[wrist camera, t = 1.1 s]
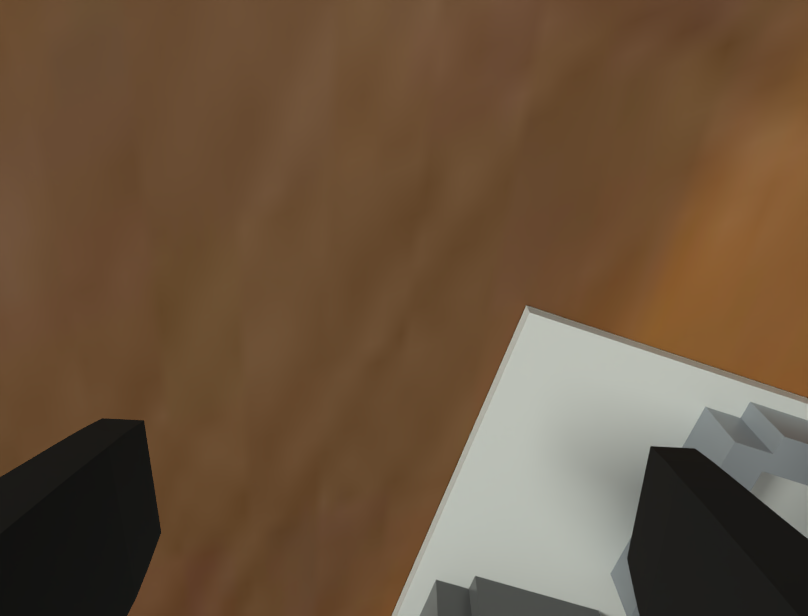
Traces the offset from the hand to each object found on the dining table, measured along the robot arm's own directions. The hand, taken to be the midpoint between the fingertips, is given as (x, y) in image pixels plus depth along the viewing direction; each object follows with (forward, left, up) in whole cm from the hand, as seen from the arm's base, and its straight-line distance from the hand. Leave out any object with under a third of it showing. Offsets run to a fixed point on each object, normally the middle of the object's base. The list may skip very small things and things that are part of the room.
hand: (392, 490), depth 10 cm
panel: (-9, -11, -11) cm, 18 cm away
